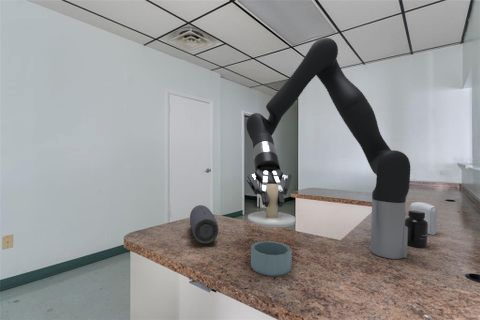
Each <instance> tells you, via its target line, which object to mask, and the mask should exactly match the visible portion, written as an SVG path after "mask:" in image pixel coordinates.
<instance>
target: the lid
mask: <svg viewBox="0 0 480 320" xmlns="http://www.w3.org/2000/svg"><path fill="white" fill-rule="evenodd" d="M266 192H267V194H268V200H269V205H268V207H265V211H263V210H262V211H255V212H250V213H249V214H248V215H247V221H248V222H249V223H250V224H253V225H256V226H260V227H265V228H267V227H268V228H288V227H292V226H294V225H296V221H297V220H296V217H295V216H294V215H291V214H289V213H285V212H280V211H278V210H279V209H278V208H279V207H278V184H267V187H266Z"/></svg>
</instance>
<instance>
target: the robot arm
mask: <svg viewBox="0 0 480 320" xmlns="http://www.w3.org/2000/svg"><path fill="white" fill-rule="evenodd" d="M338 54H339V47H338V44H337V42H336V41H335V40H334V39H332V38H329V37H322V38H319V39H317V40H315V42H314V43H313V44H312V45H311V46H310V48H309V50H308V52H307V53H306V55H304V58H302V61H301V62H300V64H299V65H298V67H297V68H296V69H295V71H294V72H293V73H292V74H291V76H290V77H289V78H288V79H287V80H286V82H285V83H284V84H283V85H282V87H280V88H279V90H278V91H277V92H276V93H275V94H274V95H273V97H272V98H271V99H270V100H269V101H268V102H267V104H266V106H265V109H266V110H267V112H268V113H269V116H268V118H266V117H265V116H264V115H262V114H261V113H259V112H253V113H252V114H250V115H249V116H248V118H247V119H246V124H245V128H246V131H247V133H248V136H249V138H250V140H251V142H252V148H253V158H252V159H253V162H254V173H253V174H251V173H247V176H246V182H247V183H248V185H249V187H250V189H251V190H252V191H253V193H254V194H255V195H260V196H261V204H262V205H263V206H264V208H266V207H268V205H269V200H268V194H267V184H278V208H282V207H283V205H284V203H285V197H284V195H285V196H286V195H287V194H288V191H289V189H290V185H291V181H292V178H293V176H292V174H288V175H286V174H284V173H283V172H282V171H281V165H280V162H279V161H280V160H279V157H278V153H277V149H276V147H275V143H274V142H275V141H274V138H273V135H274V133H275V131H276V129H277V128H278V126H279V123H280V121H281V120H282V118H283V116H284V115H285V114H286V113H287V112H288V111H289V109H291V107H292V106H293V105H294V104H295V102H296V101H297V100H298V98H299V97H300V96H301V95H302V93H303V91H304V90H305V89H306V87H307V86H308V85H309V83H311V81H312V80H313V79H314V78H315V77H317V78H318V79H319V81H320V83H322V85H323V86H324V89H326V91H327V94H328V95H329V98H330V99H331V101H332V103H333V105H334V106H335V109H336V110H337V113H338V114H339V115H340V118H341V120H342V122H344V124H345V125H346V127H347V128H348V130H349V132H350V133H351V134H352V136H353V137H354V138H355V140H356V141H357V142H358V144H359V146H360V149H362V152H363V153H364V157H365V158H366V161H367V163H368V166H369V167H370V169H371V171H372V172H373V173H374V175H376V181H375V183H376V184H375V187H374V189H373V190H372V193H371V194H372V195H371V199H372V200H371V225H370V244H369V245H370V248H369V249H370V252H371V253H372V254H374V255H376V256H378V257H382V258H386V259H392V260H399V259H403V258H404V259H408V245H407V240H408V227H407V226H405V219H406V203H407V202H406V200H407V196H408V194H409V192H410V180H411V162H410V158H409V157H408V156H407V155H406V153H404V152H402V151H400V150H395V149H394V150H392V149H391V147H390V146H389V145H388V144H387V142H386V141H385V139H384V138H383V136H382V134H381V131H380V129H379V125H378V121H377V118H376V117H377V116H376V114H375V112H374V110H373V107H372V105H371V104H370V103H369V101H368V99H367V98H366V95H364V93H363V92H362V91H361V90H360V89H359V88H358V87H357V86H356V85H355V84H354V83H353V82H351V80H349V79H348V77H347V76H346V75H345V73H344V72H343V70H342V67H341V66H340V64H339V63H338V60H337V58H338ZM281 180H283V184H284V187H282V185H281V184H282V183H281ZM257 182H259V184H261V186H260V185H259V184H258V183H257Z"/></svg>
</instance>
